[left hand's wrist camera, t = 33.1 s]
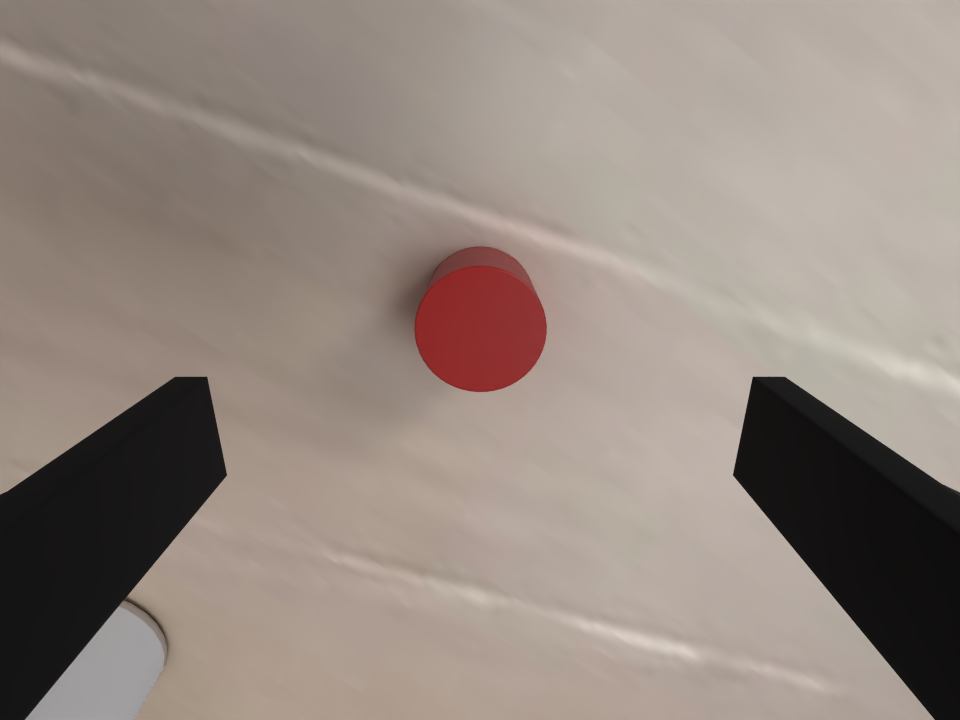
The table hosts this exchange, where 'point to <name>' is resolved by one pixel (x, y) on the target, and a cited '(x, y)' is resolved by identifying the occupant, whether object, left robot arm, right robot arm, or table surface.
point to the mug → (109, 671)
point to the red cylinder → (480, 321)
